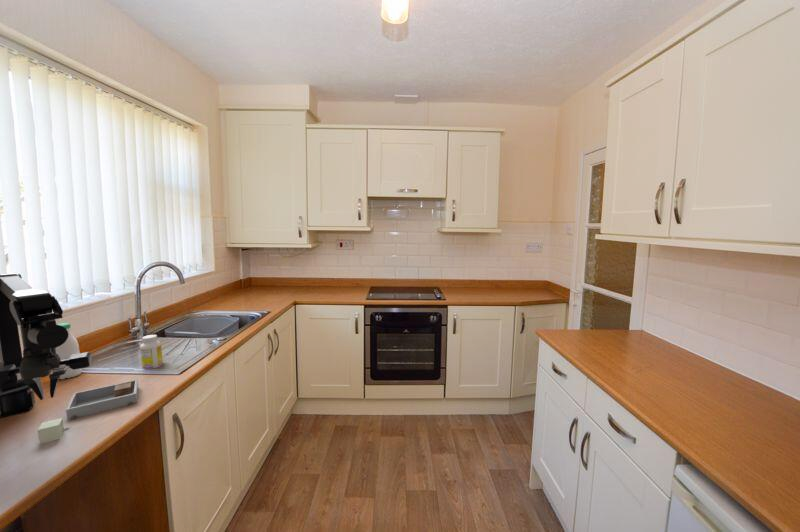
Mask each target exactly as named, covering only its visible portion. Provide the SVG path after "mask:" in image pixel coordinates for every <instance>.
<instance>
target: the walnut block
mask: <svg viewBox="0 0 800 532" xmlns="http://www.w3.org/2000/svg"><path fill="white" fill-rule="evenodd" d="M114 393H115V398H116V397H120V396H124V395H129V394H132V387H131V382H130V383H125V384H121V385H116V386H115V389H114Z"/></svg>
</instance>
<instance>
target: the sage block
mask: <svg viewBox="0 0 800 532" xmlns="http://www.w3.org/2000/svg"><path fill="white" fill-rule="evenodd" d="M63 420H64V419H63V417H61V418H56V419H53V420H47V421H44V422H41V424H40V425H39V427H38V429H37V435H38V441H39V445H41V444H45V443H49V442H53V441H56V440H55V439H57V440H60V439H59V438H61V439H62V437H63V435H64V433H65V426H64V421H63ZM63 432H64V433H63ZM62 434H63V435H62ZM61 436H62V437H61ZM52 440H53V441H52Z"/></svg>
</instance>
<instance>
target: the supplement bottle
mask: <svg viewBox="0 0 800 532" xmlns="http://www.w3.org/2000/svg"><path fill="white" fill-rule="evenodd" d="M141 341H142V343H141V344H140V348H139V349H140V358H141V368H142V369H144V370H152V369H156V368H159V367H161V366H162V365H163V364H164V360H163V351H162V343H161V342H160V341H159V340H158V335H157V334H147V335H145V336H142V340H141Z"/></svg>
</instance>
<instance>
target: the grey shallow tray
mask: <svg viewBox="0 0 800 532" xmlns="http://www.w3.org/2000/svg"><path fill="white" fill-rule="evenodd" d="M130 382H131V387H132V394H129V395H124V396H120V397H116V398H115V393H114V389H115V386H116V385H121V384H125V383H130ZM138 395H139V382H138V379H134V380H133V379H132V380H129V381H123V382H119V383H115V384H111V385H106V386H100V387H96V388H90V389H87V390H83V391H77V392H73V393H72V396H71V399H69V403H68V404H67V407H66V409H65V413H66V418H67V419H66V420H70V421H71V420H76V419H78V418H80V417H84V416H87V415H92V414H96V413H99V412H100V413H101V412H104V411H109V410H112V409H113V410H114V409H117V408H122V407H124V406H127V407H129V406H132V405H135V404H137V403H138Z"/></svg>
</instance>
